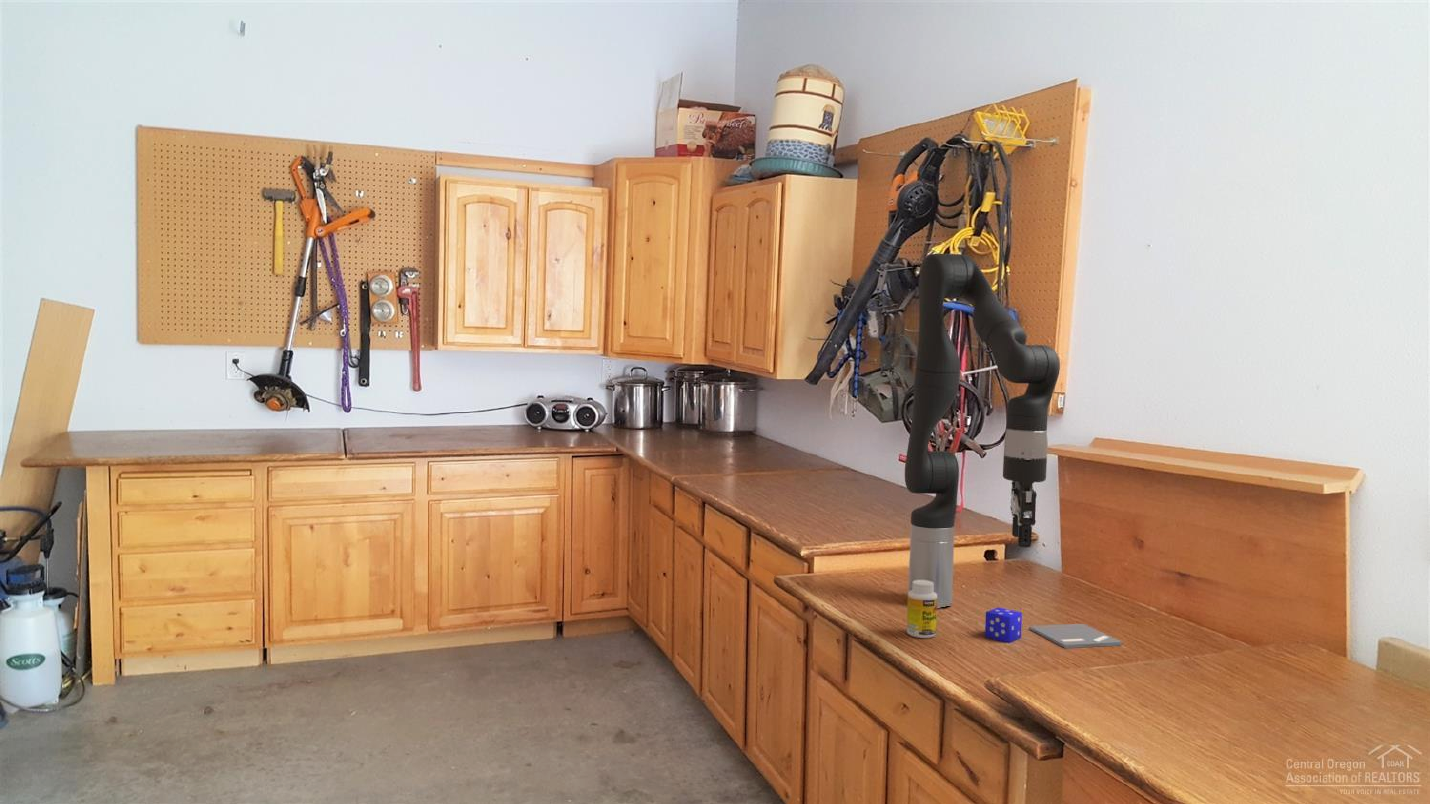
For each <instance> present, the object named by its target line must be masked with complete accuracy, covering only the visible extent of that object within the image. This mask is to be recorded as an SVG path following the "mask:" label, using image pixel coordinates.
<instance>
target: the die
mask: <svg viewBox="0 0 1430 804" xmlns="http://www.w3.org/2000/svg"><path fill="white" fill-rule="evenodd" d="M1022 618H1023V613H1022V612H1021V611H1018V610H1017V611H1016V610H1011V609H1007V608H1003V607H1000V606H999V607H996V608H993V609H990V610H987V611H985V628H984V637H985V638H986V639H990V640H994V641H999V642H1003V643H1007V644H1011V643H1012V642H1015V641H1017V640H1019V639H1021V638H1022V627H1023V626H1022V625H1023V624H1022V622H1023V619H1022Z"/></svg>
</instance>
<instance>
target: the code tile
mask: <svg viewBox="0 0 1430 804" xmlns="http://www.w3.org/2000/svg"><path fill="white" fill-rule="evenodd" d="M1028 629H1029V630H1030V631H1032V632H1034V633H1035V634H1037V635H1039V636H1041V637H1042V638H1045V639H1047V640H1049V641H1051V642H1053V643H1054V644H1056V645H1059V647H1062V648H1064V649H1074V648H1075V649H1078V648H1093V647H1095V648H1096V647H1110V646H1111V647H1112V646H1113V647H1115V646H1123V641H1121V640H1120V639H1117V638H1115V637H1112V636H1111V635H1108V634H1106V633H1104V632H1102V631H1099V630H1098V629H1095V628H1094V627H1091V626H1089V625H1086V624H1084V623H1073V624H1071V623H1070V624H1053V625H1051V624H1050V625H1030V626H1028Z"/></svg>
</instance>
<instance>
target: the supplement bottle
mask: <svg viewBox="0 0 1430 804" xmlns="http://www.w3.org/2000/svg"><path fill="white" fill-rule="evenodd" d="M933 589H934V583H933V582H931V581H927V580H915V581H913V583H912V590H911V591H909V590H908V593H907V607H906V608H907V611H906V632H907V634H908V635H909V636H910V637H914V638H918V639H931V638H933V637H934V638H935V636H936V634H937V620H938V619H937V616H938V615H937V613H938V608H937V594H936V593H935V592H933Z"/></svg>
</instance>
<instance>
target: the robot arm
mask: <svg viewBox="0 0 1430 804" xmlns="http://www.w3.org/2000/svg"><path fill="white" fill-rule="evenodd" d="M918 276H919V279H918V315H919V316H918V322H919V323H918V339H917V341H918V342H917V352H916V353H917V354H916V360H915V369H914V381H913V384H914V385H913V399H912V400H913V403H912V415H911V424H910V426H911V427H910V432H909V437H908V443H907V444H908V445H907V450H906V458H905V465H904V483H905V487H906V489H907V490H908V492H910V493H911V494H922V495H923V494H925V495H929V494H931V495H933V494H934V495H935V496H934V498H933V499H932V500H931V501H930V502H928V503H927V504H925V505H922V506H920V507H917V508H915V509H914V510H912V512H911V514H910V539H909V540H910V543H909V561H908V563H909V565H908V566H909V567H908V592H909V591H911V590H912V583H913V581H915V580H927V581H931V582H933V583H934V589H933V592H935V593H936V594H937V607H943V606H947V605H950V604H951V603H952V604H953V586H954V585H953V582H954V554H955V553H954V551H955V547H954V546H955V521H956V520H955V519H956V516H957V515H956V514H957V505H958V504H957V503H958V493H959V492H958V491H959V481H960V467H959V461H958V457H957V456H956V455H955V453H954V452H951V451H947V450H946V451H944V450H942V451H941V450H928V449H929V443H930V440H931V436H932V434H933V432H934V430H935V428H936V427H937V425H938V423H939V422H940V421H941V420H942V418H943V417H944V415H945V414H946V413H947V412H948V410H949V409H950V408H951V406H952V404H953V403H954V401H955V400H956V397H957V395H958V394H959V388H960V387H959V386H960V377H961V376H960V375H961V360H960V356H959V354H958V351H957V348H956V347H955V345H954V343H953V341H952V339H951V337H950V335H949V333H948V331H947V329H946V326H945V320H944V301H945V299H946V300H949V299H950V300H952V299H953V300H957V299H958V300H959V299H961V300H964V301H965V302H967V303H968V304H970V305H971V306H972V307H973V312H972V325H973V327H974V330H975V332H976V334H977V335H978V337H979V338H980V339H981V340H982V341H983V343H984V344H985V345H986V346H987V347H988V348H989V349H990V351H991V353H992V356H993V359H994V361H995V365H996V367H997V369H998V372H999V374H1000V376H1002V377H1003V378H1004V379H1005V380H1006V381H1008V382H1010V383H1013V384H1027V388H1026V389H1025V392H1024V393H1023V394H1021V395H1017V396H1014V397H1012V398H1010V399H1009V400H1008V402H1007V406H1006V408H1007V409H1006V423H1005V424H1006V426H1005V428H1006V429H1005V435H1004V440H1003V441H1004V442H1003V464H1002V477H1003V479H1005V480H1008V481H1011V489H1010V496H1011V499H1010V512H1011V516H1012V523H1011V524H1012V525H1011V526H1012V527H1011V528H1012V529H1011V535H1012V536H1013V537H1014V538H1017V545H1018V546H1019V547H1020V548H1031V546H1032V538H1033V537H1032V535H1033V533H1032V532H1033V528H1034V526H1035V525H1036V521H1037V520H1036V511H1037V510H1036V507H1037V504H1036V503H1037V492H1036V490H1034V487H1033V484H1034V483H1042V482H1045V481H1046V480H1047V463H1048V461H1047V460H1048V434H1047V433H1048V412H1049V411H1048V410H1049V405H1050V403H1051V400H1052V397H1053V394H1054V391H1055V388H1056V384H1057V382H1058V379H1059V375H1060V371H1061V363H1060V359H1059V354H1058V353H1057V351H1056V350H1055V349H1054V348H1053V347H1051V346H1050V345H1045V344H1043V345H1042V344H1026V343H1027V339H1028V338H1027V337H1028V336H1027V332H1026V330H1025V329H1024V328H1023V326H1022V325H1021V324H1020V323H1019V321H1017V320H1016V319H1015V318H1014V316H1012V315H1011V313H1010V312H1009V311H1008V310H1007V309H1006V308H1005V307H1004V305H1002V302H1000V300H999V298H998V297H997V296H996V293H995V292H994V290H993V288H992V287H991V285H990V283H989V281H988V280H987V278H986V276H985V275H984V272H983V271H982V269H981V268H980V266H979V265H978V263H977V262H976V261H975V260H974V259H973V258H972V257H971V256H969V255H966V254H959V253H931V254H928V255H926V257H925V258H924V259H923V261H922V264H921V266H920V271H919V275H918ZM1027 516H1028V517H1027Z"/></svg>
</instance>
